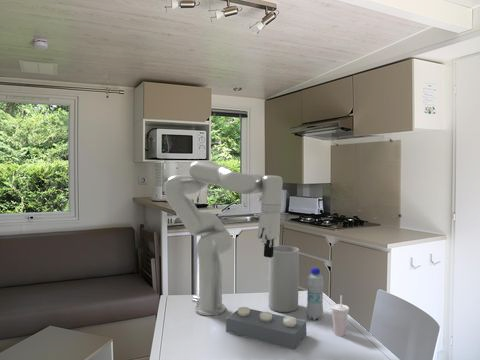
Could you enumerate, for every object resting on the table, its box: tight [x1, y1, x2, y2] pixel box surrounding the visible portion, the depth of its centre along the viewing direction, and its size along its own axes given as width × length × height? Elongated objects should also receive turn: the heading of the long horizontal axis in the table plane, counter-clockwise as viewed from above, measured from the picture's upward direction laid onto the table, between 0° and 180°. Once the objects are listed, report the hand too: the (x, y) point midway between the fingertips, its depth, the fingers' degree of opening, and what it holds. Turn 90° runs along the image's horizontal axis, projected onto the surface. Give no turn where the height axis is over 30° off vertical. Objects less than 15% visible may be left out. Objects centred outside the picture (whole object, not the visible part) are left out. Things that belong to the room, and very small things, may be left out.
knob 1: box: [237, 306, 251, 316], centre depth 137 cm, size 4×4×6 cm
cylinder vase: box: [268, 245, 300, 313], centre depth 157 cm, size 12×12×25 cm
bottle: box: [306, 267, 325, 321], centre depth 146 cm, size 7×7×20 cm
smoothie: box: [330, 295, 350, 337], centre depth 133 cm, size 6×6×14 cm
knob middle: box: [260, 311, 273, 322], centre depth 132 cm, size 4×4×6 cm
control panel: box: [225, 308, 307, 350], centre depth 132 cm, size 26×12×5 cm, turn 61°
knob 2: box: [283, 316, 297, 327], centre depth 128 cm, size 4×4×6 cm
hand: (268, 256), depth 140 cm, fingers closed
